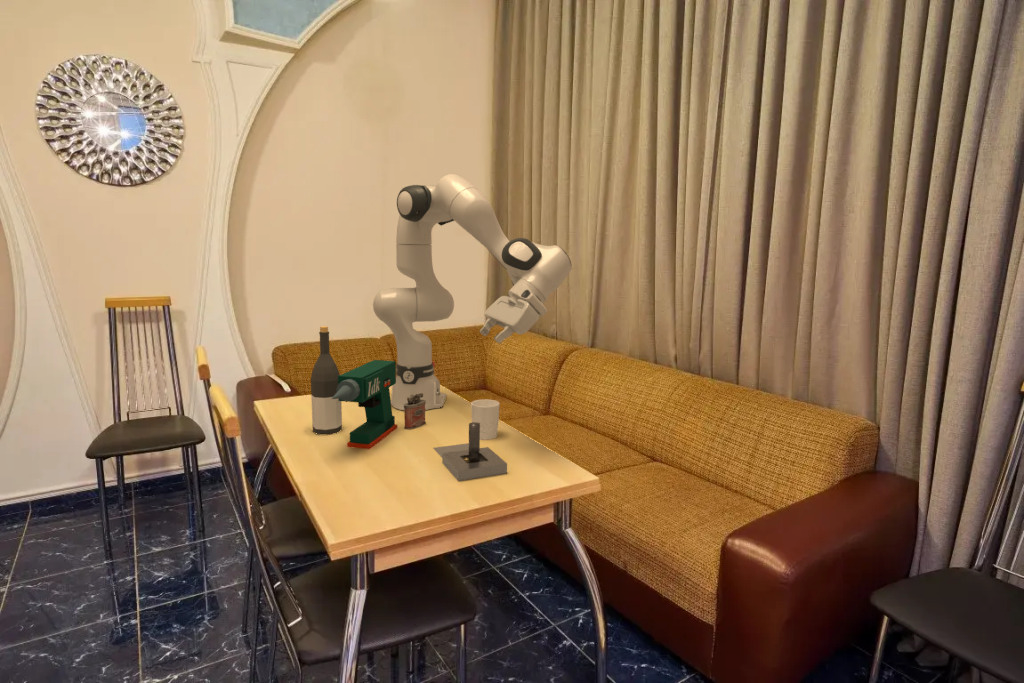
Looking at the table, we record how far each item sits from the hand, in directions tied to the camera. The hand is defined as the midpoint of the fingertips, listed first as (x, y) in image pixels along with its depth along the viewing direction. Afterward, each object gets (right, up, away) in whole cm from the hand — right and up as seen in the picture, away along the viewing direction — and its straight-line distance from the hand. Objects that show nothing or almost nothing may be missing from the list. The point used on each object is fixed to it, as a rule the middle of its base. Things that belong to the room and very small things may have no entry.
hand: (489, 337), depth 151 cm
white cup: (-2, -28, +14) cm, 32 cm away
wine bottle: (-47, -27, +18) cm, 57 cm away
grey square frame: (-3, -32, -9) cm, 33 cm away
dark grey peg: (-3, -32, -9) cm, 33 cm away
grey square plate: (-8, -30, +2) cm, 31 cm away
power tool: (-34, -29, +7) cm, 45 cm away
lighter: (-23, -26, +22) cm, 41 cm away
